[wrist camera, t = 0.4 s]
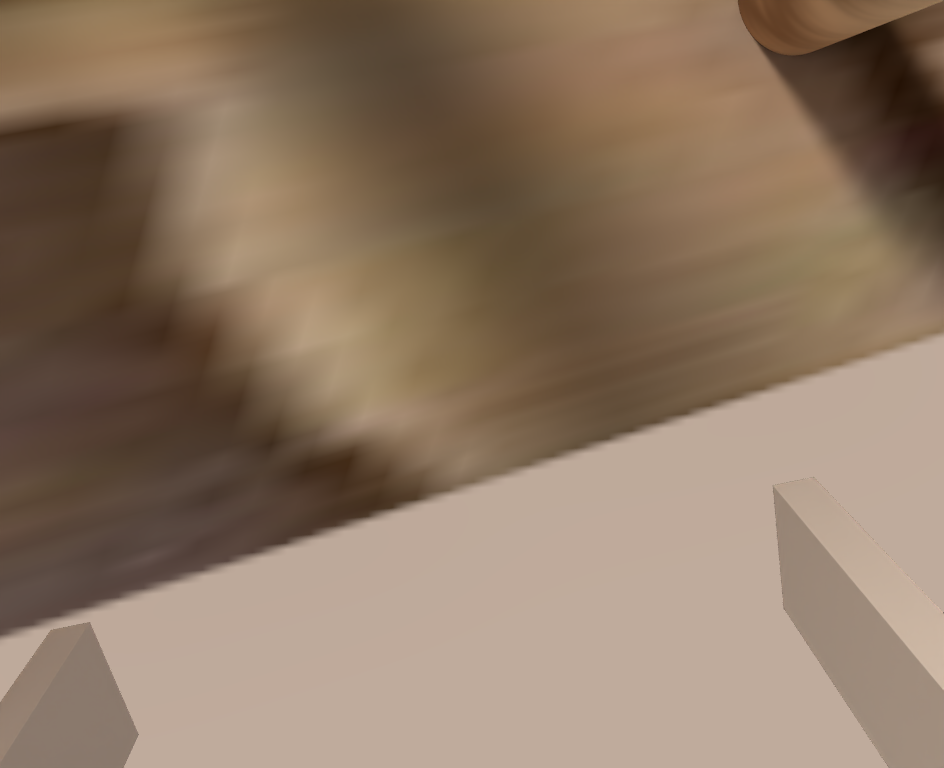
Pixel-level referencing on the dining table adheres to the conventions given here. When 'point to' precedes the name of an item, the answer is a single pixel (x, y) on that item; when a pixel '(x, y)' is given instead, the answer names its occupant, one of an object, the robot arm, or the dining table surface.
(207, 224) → the dining table surface
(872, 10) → the oak rail post
